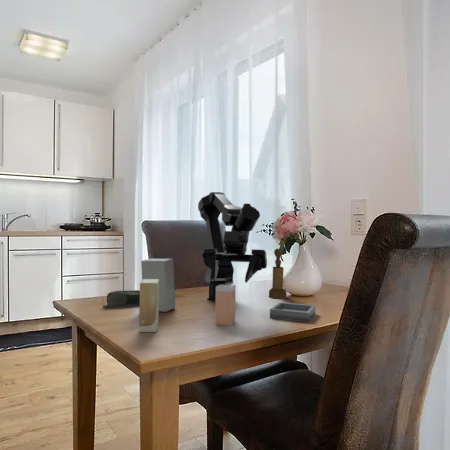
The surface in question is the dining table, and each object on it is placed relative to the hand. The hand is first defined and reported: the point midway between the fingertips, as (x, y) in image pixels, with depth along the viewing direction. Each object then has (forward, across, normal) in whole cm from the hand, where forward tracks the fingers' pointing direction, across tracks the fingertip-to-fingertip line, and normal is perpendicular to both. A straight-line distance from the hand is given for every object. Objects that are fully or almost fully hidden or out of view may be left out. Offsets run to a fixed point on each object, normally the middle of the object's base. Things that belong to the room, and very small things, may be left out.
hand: (229, 280), depth 108 cm
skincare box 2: (+19, -17, -3) cm, 26 cm away
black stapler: (+2, -36, +14) cm, 39 cm away
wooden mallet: (-20, +9, +36) cm, 42 cm away
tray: (+1, +17, +15) cm, 22 cm away
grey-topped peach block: (+10, 0, +5) cm, 12 cm away
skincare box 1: (+4, -24, +12) cm, 27 cm away
